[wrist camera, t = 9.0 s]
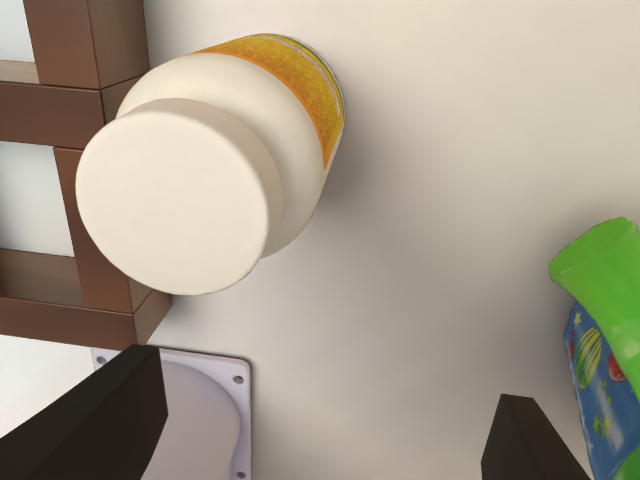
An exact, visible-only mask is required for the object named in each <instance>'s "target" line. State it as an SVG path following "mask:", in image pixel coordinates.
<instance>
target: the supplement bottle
mask: <svg viewBox="0 0 640 480" xmlns="http://www.w3.org/2000/svg"><path fill="white" fill-rule="evenodd" d="M344 119H345V111H344V101H343V96H342V93H341V90H340V87H339V85H338V82H337V80H336V78H335V76H334V74H333V72H332V71H331V69H330V68H329V66H328V65H327V64H326V62H325V61H324V60H323V59H322V58H321V57H320V56H319V55H318V54H317V53H316V52H315V51H314V50H313V49H312V48H310V47H309V46H307V45H306V44H304V43H302V42H300V41H298V40H296V39H294V38H291V37H288V36H284V35H279V34H272V33H262V34H255V35H250V36H245V37H242V38H239V39H235V40H232V41H229V42H226V43H223V44H220V45H216V46H213V47H209V48H206V49H203V50H200V51H197V52H194V53H190V54H187V55H184V56H180V57H177V58H174V59H172V60H170V61H167V62H165V63H163V64H161V65H159V66H157V67H156V68H154V69H152V70H151V71H149V72H148V73H147V74H145V75H144V76H143V77H142V78H141V79H140V80H139V81H138V82H137V83H136V84H135V85H134V86H133V87H132V88H131V90H130V91H129V92H128V94H127V95H126V97H125V99H124V100H123V102H122V104H121V106H120V108H119V110H118V113H117V115H116V119H115V120H113V121H111V122H110V123H108V124H107V125H106V126H104V127H103V128H102V129H101V130H100V131H99V132H98V133H97V134H96V135H95V136H94V137H93V138H92V139H91V141H90V142H89V143H88V144H87V146H86V148H85V150H84V152H83V154H82V156H81V159H80V162H79V165H78V169H77V173H76V185H75V186H76V198H77V205H78V209H79V212H80V215H81V219H82V221H83V223H84V226H85V227H86V229H87V231H88V233H89V235H90V237H91V238H92V240H93V241H94V242H95V244H96V245H97V247H98V248H99V250H100V251H101V252H102V254H103V255H104V256H106V258H107V259H108V260H109V261H110V262H111V263H112V264H113V265H115V266H116V267H117V268H118V269H120V270H121V271H122V272H123V273H125V274H126V275H128V276H130V277H131V278H133V279H135V280H136V281H138V282H140V283H142V284H144V285H146V286H149V287H151V288H154V289H157V290H160V291H163V292H166V293H170V294H177V295H189V296H196V295H205V294H210V293H215V292H218V291H221V290H224V289H226V288H228V287H230V286H232V285H234V284H235V283H237V282H239V281H240V280H242V279H243V278H244V277H245V276H246V275H248V274H249V273H250V272H251V270H252V269H253V268H254V267H255V265H256V264H257V263H258V261H259V259H262V258H265V257H267V256H269V255H271V254H273V253H275V252H277V251H279V250H280V249H282V248H283V247H285V246H286V245H287V244H289V243H290V242H291V241H292V240H293V239H294V238H295V237H296V236H297V235H298V234H299V233H300V232H301V231H302V230H303V228H304V227H305V226H306V224H307V223H308V221H309V219H310V218H311V216H312V214H313V212H314V210H315V208H316V206H317V203H318V201H319V198H320V196H321V193H322V190H323V187H324V184H325V181H326V179H327V176H328V173H329V170H330V167H331V165H332V162H333V159H334V157H335V154H336V151H337V149H338V147H339V143H340V140H341V136H342V133H343V128H344Z"/></svg>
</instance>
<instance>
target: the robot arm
mask: <svg viewBox="0 0 640 480" xmlns="http://www.w3.org/2000/svg"><path fill="white" fill-rule="evenodd" d="M91 353H92V358H93V363H94V368H95V372H94V373H92V374H91V375H90V376H88V377H87V378H86V379H84V380H83V381H82V382H80V383H79V384H78V385H76V386H75V387H73V388H72V389H71V390H69V391H68V392H67V393H65V394H64V395H62V396H61V397H60V398H58V399H57V400H56V401H54V402H53V403H51V404H50V405H49V406H47V407H46V408H45V409H43V410H42V411H40V412H39V413H37V414H36V415H34V416H33V417H31V418H30V419H29V420H27V421H26V422H24V423H23V424H21V425H20V426H18V427H17V428H15V429H14V430H12V431H11V432H9V433H8V434H6V435H5V436H3V437H2V438H0V480H251V396H250V366H249V364H248V363H247V362H245V361H244V360H241V359H234V358H227V357H220V356H213V355H205V354H198V353H191V352H184V351H176V350H169V349H162V348H159V347H152V346H144V345H137V344H132V345H130V346H129V347H127V348H126V349H124V350H123V351H115V350H108V349H101V348H93V347H91ZM103 357H104V358H105V359H104V358H103ZM237 376H240V377H242V378H238V377H237ZM481 470H482V480H591V479H590V478H589V476H588V475H587V474H586V472H585V471H584V470H583V468H582V467H581V465H580V464H579V463H578V461H577V460H576V458H575V457H574V456H573V454H572V453H571V451H570V450H569V449H568V447H567V446H566V444H565V443H564V442H563V440H562V439H561V437H560V436H559V434H558V433H557V431H556V430H555V429H554V427H553V426H552V424H551V423H550V421H549V420H548V418H547V417H546V415H545V414H544V413H543V411H542V410H541V408H540V407H539V405H538V404H537V403H536V401H535V400H534V399H533V398H530V397H523V396H515V395H508V394H501V396H500V400H499V403H498V406H497V410H496V413H495V416H494V420H493V423H492V426H491V430H490V433H489V436H488V440H487V443H486V446H485V450H484V453H483V456H482V460H481Z"/></svg>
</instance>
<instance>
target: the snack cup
mask: <svg viewBox="0 0 640 480" xmlns="http://www.w3.org/2000/svg"><path fill="white" fill-rule="evenodd" d="M549 274H550V277H551V279H552V280H553V281H554V282H555V283H557V284H558V285H559V286H561V287H562V288H563V289H564V290H566V291H567V292H568V293H569V294H570V295H571V296H573V297H574V298H575V299H576V300H577V301H578V302H577V303H576V305H575V307H574V309H573V310H572V311H571V316H570V320H569V325H568V329H567V330H566V332H565V333H564V338H565V347H566V352H567V356H568V363H569V368H570V373H571V377H572V382H573V387H574V393H575V398H576V400H577V403H578V407H579V413H580V422H581V426H582V430H583V434H584V438H585V442H586V449H587V454H588V459H589V463H590V467H591V470H592V473H593V476H594V479H595V480H640V234H639V232H638V229H637V226H636V224H635V223H634V222H631V221H628V220H627V219H625V218H624V217H619V218H615V219H612V220H609V221H605V222H603V223H601V224H598V225H596V226H594V227H593V228H592V229H591V230H589V231H588V232H586V233H585V234H584V235H582V236H581V237H580V238H578V239H577V240H576V241H575V242H573V243H571V244H569V245H568V246H567V247H565V248H564V249H563V250H562V251H560V252H559V254H558V255H557V256H556V258H555V259H554V260H553V261H552V262H551V263H550V265H549Z"/></svg>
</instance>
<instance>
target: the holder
mask: <svg viewBox="0 0 640 480" xmlns="http://www.w3.org/2000/svg"><path fill="white" fill-rule="evenodd" d="M23 3H24V8H25V13H26V18H27V23H28V28H29V33H30V38H31V43H32V48H33V53H34V58H35V63H32V62H20V61H8V60H0V141H9V142H19V143H29V144H39V145H48V146H55V147H54V148H53V150H54V155H55V160H56V165H57V170H58V175H59V180H60V185H61V190H62V195H63V200H64V205H65V210H66V215H67V220H68V225H69V230H70V235H71V240H72V245H73V250H74V255H75V258H72V257H64V256H55V255H47V254H39V253H31V252H23V251H15V250H7V249H0V334H1V335H8V336H15V337H22V338H29V339H36V340H43V341H51V342H58V343H65V344H72V345H79V346H86V347H93V348H101V349H108V350H115V351H123V350H124V349H126V348H127V347H129V346H130V345H132V344H137V345H145V344H146V342H147V341H148V340H149V338H150V337H151V335H152V334H153V332H154V331H155V329H156V328H157V327H158V325H159V324H160V322H161V321H162V319H163V318H164V317H165V315H166V314H167V312H168V311H169V309H170V308H171V306H172V296H171V294H170V293H166V292H163V291H160V290H157V289H154V288H151V287H149V286H146V285H144V284H142V283H140V282H138V281H136V280H135V279H133V278H131V277H130V276H128V275H126V274H125V273H123V272H122V271H121V270H120V269H118V268H117V267H116V266H115V265H113V264H112V263H111V262H110V261H109V260H108V259H107V258H106V256H104V255H103V254H102V252H101V251H100V250H99V248H98V247H97V245H96V244H95V242H94V241H93V240H92V238H91V237H90V235H89V233H88V231H87V229H86V227H85V226H84V223H83V221H82V219H81V215H80V212H79V209H78V205H77V198H76V186H75V185H76V173H77V169H78V165H79V162H80V159H81V156H82V154H83V152H84V150H85V148H86V146H87V144H88V143H89V142H90V141H91V139H92V138H93V137H94V136H95V135H96V134H97V133H98V132H99V131H100V130H101V129H102V128H103V127H104V126H106V125H107V124H108V123H110V122H111V121H113V120H115V119H116V115H117V113H118V110H119V108H120V106H121V104H122V102H123V100H124V99H125V97H126V95H127V94H128V92H129V91H130V90H131V88H132V87H133V86H134V85H135V84H136V83H137V82H138V81H139V80H140V79H141V78H142V77H143V76H144V75H145V74H147V72H149V63H148V53H147V43H146V33H145V23H144V13H143V3H142V0H23Z"/></svg>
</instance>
